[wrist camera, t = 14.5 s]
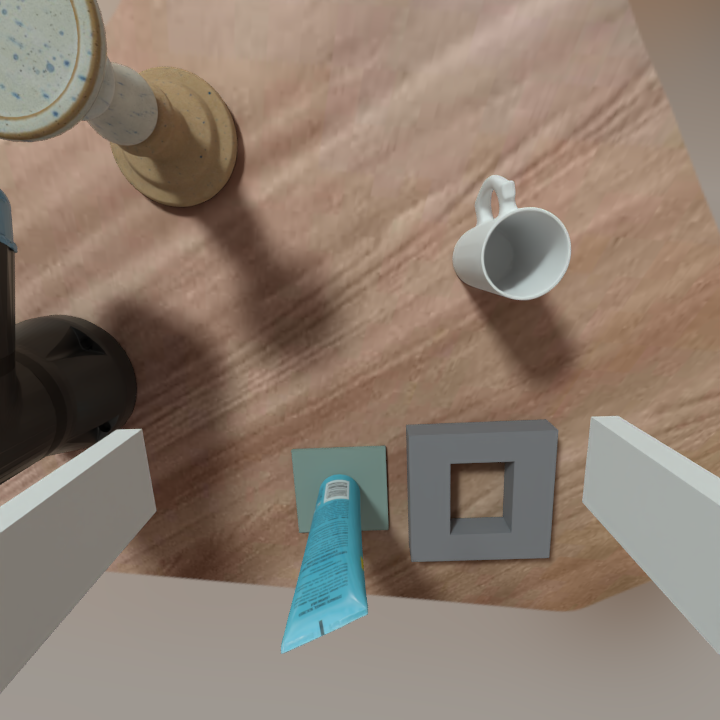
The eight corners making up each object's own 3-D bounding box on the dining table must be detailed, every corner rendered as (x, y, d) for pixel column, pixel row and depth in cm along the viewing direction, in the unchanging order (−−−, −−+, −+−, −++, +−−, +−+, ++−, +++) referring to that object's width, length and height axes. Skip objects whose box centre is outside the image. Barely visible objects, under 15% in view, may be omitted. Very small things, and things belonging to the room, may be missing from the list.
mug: (519, 281, 43) (577, 288, 31) (456, 297, 43) (489, 309, 31) (503, 182, 40) (558, 148, 29) (437, 200, 41) (465, 175, 29)
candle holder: (236, 214, 42) (119, 171, 22) (116, 200, 41) (-109, 143, 22) (241, 79, 39) (112, -109, 19) (113, 63, 39) (-150, -143, 19)
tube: (327, 521, 49) (301, 677, 30) (303, 491, 48) (261, 633, 30) (377, 490, 48) (382, 632, 29) (354, 459, 47) (343, 585, 29)
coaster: (299, 530, 50) (299, 532, 50) (291, 449, 48) (291, 450, 47) (388, 527, 50) (388, 529, 49) (385, 445, 47) (385, 447, 47)
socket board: (409, 544, 50) (411, 561, 47) (406, 424, 47) (408, 435, 44) (538, 540, 50) (549, 557, 47) (546, 419, 46) (558, 430, 43)
